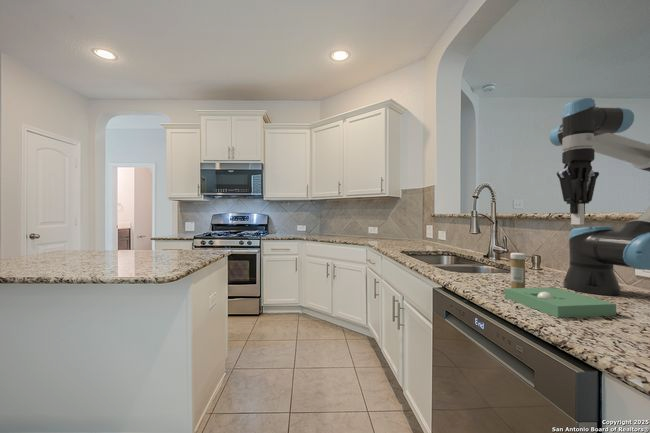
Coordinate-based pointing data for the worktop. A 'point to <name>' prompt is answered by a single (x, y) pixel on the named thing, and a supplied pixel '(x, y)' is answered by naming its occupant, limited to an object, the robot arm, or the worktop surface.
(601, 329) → the worktop surface
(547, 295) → the ball
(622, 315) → the worktop surface
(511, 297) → the putting board
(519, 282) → the sprinkles bottle
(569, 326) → the worktop surface
